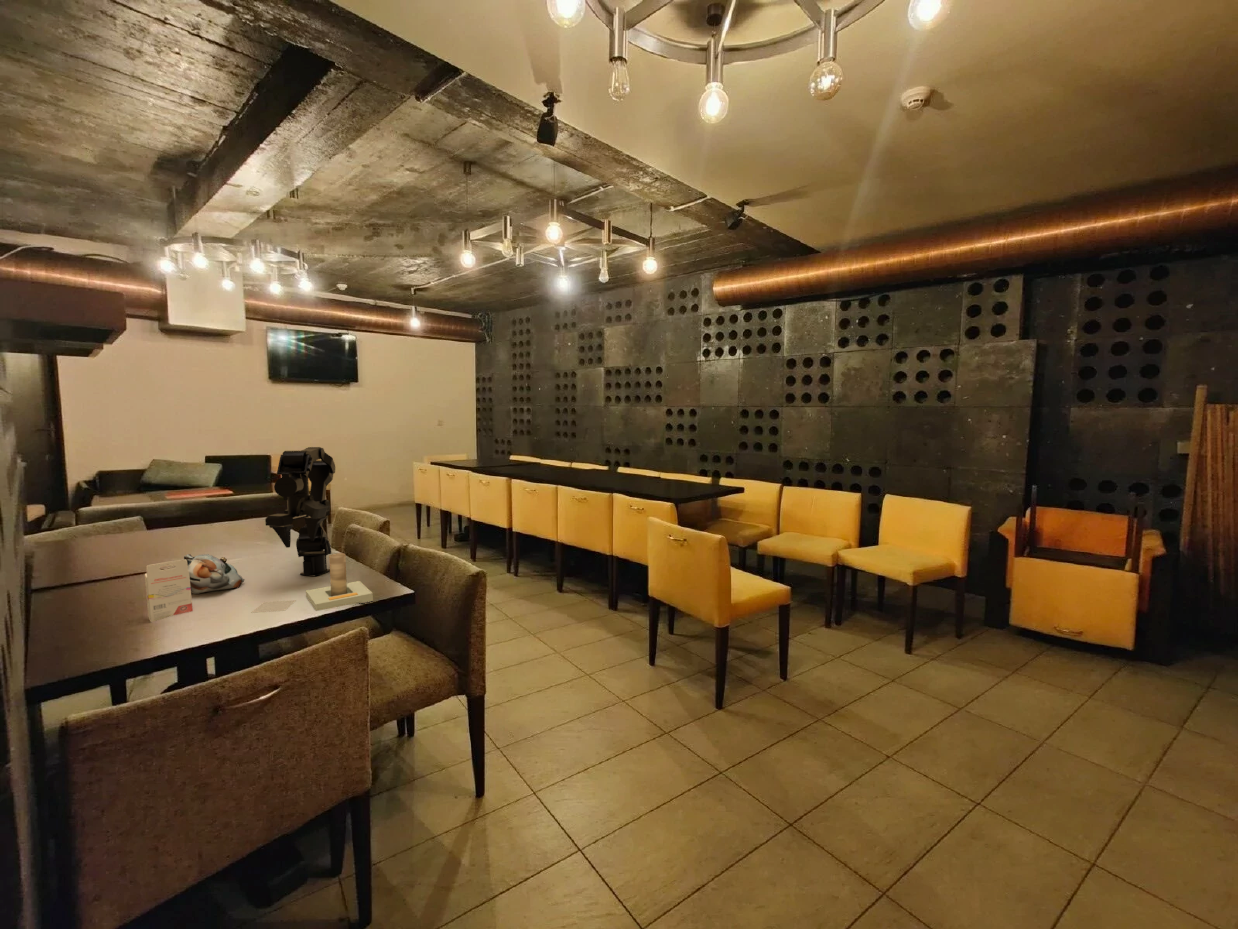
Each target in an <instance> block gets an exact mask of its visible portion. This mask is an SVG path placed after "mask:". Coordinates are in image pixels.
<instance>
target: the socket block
mask: <svg viewBox="0 0 1238 929" xmlns="http://www.w3.org/2000/svg"><path fill="white" fill-rule="evenodd" d="M373 596H374V594H373V592H372V591H371V590H370V589H368V587H367V586H366V585H365V584H363V583H362V581H360V580H357V581H352V582H347V594H343V595H337V596H332V597H331V585H329V586H324V587H319V588H313V589H307V590H305V597H306V599H307V600H308V601H309V603H310V605H311V606H312V607H313V609H314V610H315V611H316V612H317V611H322V610H327V609H333V608H336V607H342V606H346V605H351V604H358V603H360V602H367V601H368V602H369V601H373V602H374V597H373Z"/></svg>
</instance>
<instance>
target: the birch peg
mask: <svg viewBox="0 0 1238 929" xmlns="http://www.w3.org/2000/svg"><path fill="white" fill-rule="evenodd" d="M328 560H329V563H328V564H329V569H330V571H329V577H330V578H329V579H330V581H329V582H330V586H331V596H330V597H332V596H337V595H343V594H348V593H347V583H348V582H347V580H348V579H347V562H346V560H347V557H346V553H341V552H339V553H331V554H329V556H328Z"/></svg>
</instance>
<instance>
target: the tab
mask: <svg viewBox="0 0 1238 929" xmlns="http://www.w3.org/2000/svg"><path fill="white" fill-rule="evenodd" d="M295 602H297V599H294V600H293V599H291V600H276V601H264V602H262V603H261V604H260V605H258V606H257V607H256V608H255V609H253V610H252V611H251V612H250V613H251V614H253V613H254V614H255V613H270V612H271V613H272V612H283V611H286V610H288V609H289V608H290V607H291V606H292V605H293V604H294V603H295Z"/></svg>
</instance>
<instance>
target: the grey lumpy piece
mask: <svg viewBox="0 0 1238 929" xmlns="http://www.w3.org/2000/svg"><path fill="white" fill-rule="evenodd" d="M183 559H186V560H187V565H188V570H189V576H190V587H191V594H192V593H193V594H194V595H198V594H202V593H206V592H213V591H214V592H215V591H219V590H220V591H221V590H229V589H230V590H231V589H238V588H239V587H240V586H241V584H242V583H244V582H245V580H246V579H245V578H243V577H242V576H241V575H240V574H239V573H238V570H237V569H236V568H235V567H234V566H233V565H232V564H230V563H228V562H227V560H228V559H227V558H226V557H224V556H222V557H220V559H219V558H218V557H215V556H214V555H212V554H208V553H207V554H205V553H203V554H198V555H195V556H192V555H191V553H190V554H189V553H188V554H186V555H184V556H183Z"/></svg>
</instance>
